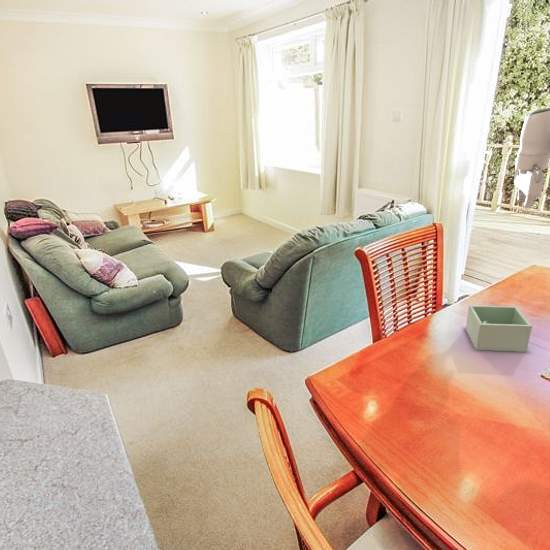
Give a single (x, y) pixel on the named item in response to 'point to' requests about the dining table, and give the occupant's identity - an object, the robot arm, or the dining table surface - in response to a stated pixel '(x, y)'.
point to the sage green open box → (498, 328)
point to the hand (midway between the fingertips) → (523, 204)
